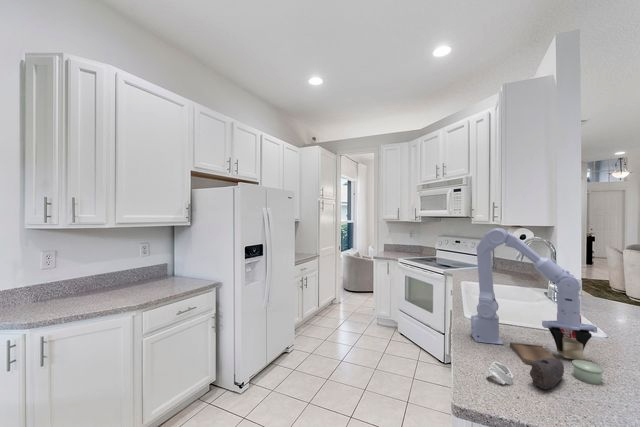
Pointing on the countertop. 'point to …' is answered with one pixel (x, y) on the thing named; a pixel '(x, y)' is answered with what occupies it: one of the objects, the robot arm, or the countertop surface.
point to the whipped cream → (500, 373)
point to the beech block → (571, 349)
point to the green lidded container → (587, 371)
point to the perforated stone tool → (546, 372)
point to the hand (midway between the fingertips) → (569, 351)
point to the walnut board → (530, 352)
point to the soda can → (568, 331)
